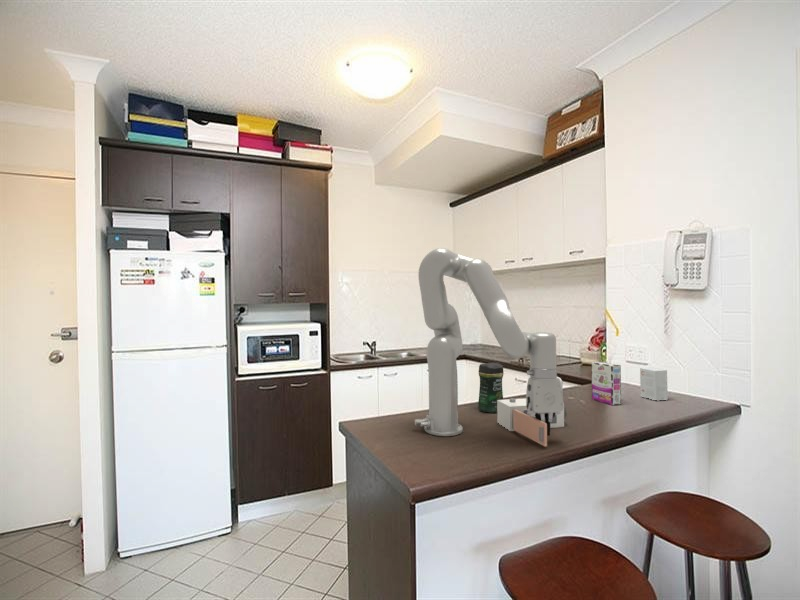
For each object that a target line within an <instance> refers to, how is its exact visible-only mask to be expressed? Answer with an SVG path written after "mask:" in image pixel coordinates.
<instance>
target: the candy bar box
mask: <svg viewBox="0 0 800 600" xmlns="http://www.w3.org/2000/svg"><path fill="white" fill-rule="evenodd" d="M621 367H622V365H620V364H615V363H611V362H610V363H608V362H602V361H592V362H591V400H593V399H594V400H593V401H596V400H597V401H596V402H599V401H600V402H599V403H603V404H606V403H607V404H606V405H610V406H618V405H620V404H621V405H622V379H621V378H622V376H621V375H622V373H621V372H622V371H621Z"/></svg>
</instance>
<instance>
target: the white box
mask: <svg viewBox="0 0 800 600" xmlns="http://www.w3.org/2000/svg"><path fill="white" fill-rule="evenodd" d="M512 409H516V410H518V411H520V412H522V413H525V414H527V411H528V409H527V407H526V397H525V398H515V397H511V398H508V399H503V400H497V412H496V414H497V415H496V416H497V420H496V421H497V424H498V423H499V424H498V425H500V426H501V425H502V426H501V427H502V428H504V427H505V429H506V430H507V429H508V430H507V431H508V432H516V431H515V430H513V429H512ZM531 417H532V416H531ZM566 417H567V409H566V406H565V402H563V410H562V411H561V413H560V414H558V415H555V416H554V417H553V419H552V422H550V429H551V428H552V429H554V428H555V429H556V428H565V419H566ZM533 418H535V417H533Z"/></svg>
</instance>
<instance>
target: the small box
mask: <svg viewBox="0 0 800 600" xmlns="http://www.w3.org/2000/svg"><path fill="white" fill-rule="evenodd" d="M639 368H640V369H639V371H640V372H639V376H640V377H639V378H640V379H639V380H640V381H639V383H640V389H639V390H640V397H641V396H642V397H646V398H649V399H648V400H650V399H652V400H651V401H653V400H666V401H668V400H669V399H668V397H669V395H668V370H667V369H666V370H665V369H660V368H656V367H639ZM642 397H641V398H642ZM646 398H645V399H646Z"/></svg>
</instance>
